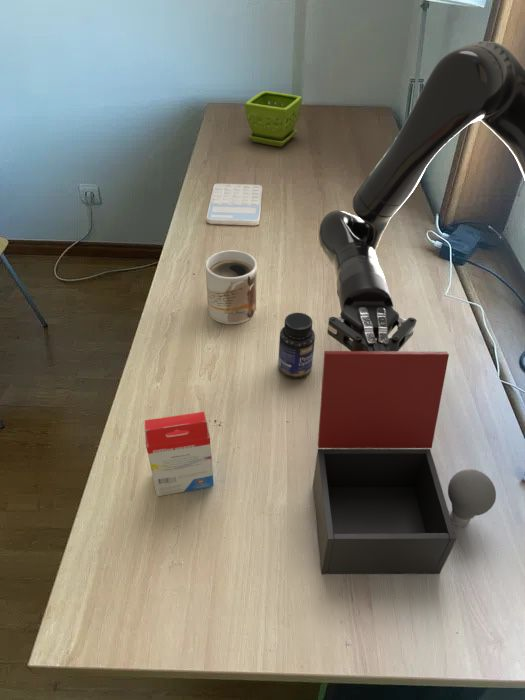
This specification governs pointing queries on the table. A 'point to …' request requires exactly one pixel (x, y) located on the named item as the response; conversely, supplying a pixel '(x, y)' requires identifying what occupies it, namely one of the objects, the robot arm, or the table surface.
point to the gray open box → (380, 512)
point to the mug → (231, 286)
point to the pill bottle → (296, 346)
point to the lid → (380, 398)
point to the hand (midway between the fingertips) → (381, 369)
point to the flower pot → (272, 117)
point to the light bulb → (470, 496)
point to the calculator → (235, 204)
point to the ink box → (179, 453)
